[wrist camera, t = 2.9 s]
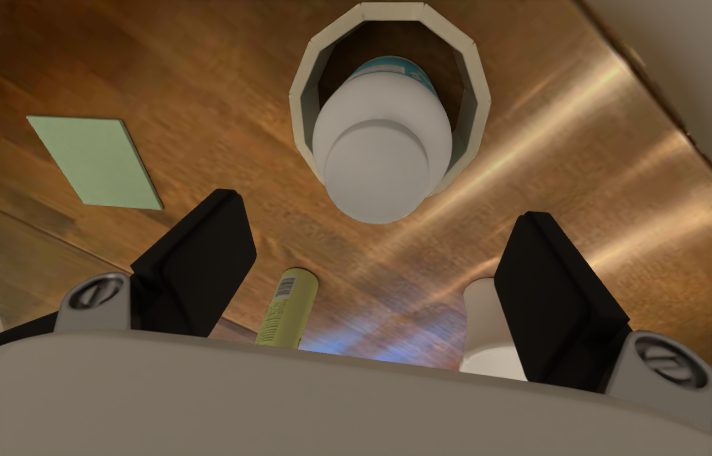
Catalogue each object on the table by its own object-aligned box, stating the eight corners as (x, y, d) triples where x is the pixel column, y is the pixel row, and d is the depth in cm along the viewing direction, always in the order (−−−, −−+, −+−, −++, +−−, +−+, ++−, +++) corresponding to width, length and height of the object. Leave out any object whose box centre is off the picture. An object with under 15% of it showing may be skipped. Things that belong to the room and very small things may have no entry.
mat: (29, 115, 28) (25, 116, 28) (121, 119, 27) (118, 120, 27) (86, 202, 34) (83, 204, 34) (164, 208, 33) (161, 210, 33)
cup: (475, 255, 31) (500, 337, 23) (544, 287, 33) (589, 375, 25) (429, 299, 36) (437, 379, 28) (490, 325, 38) (513, 408, 30)
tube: (321, 297, 39) (267, 485, 23) (285, 294, 39) (209, 475, 24) (317, 267, 35) (251, 464, 20) (278, 264, 36) (184, 452, 20)
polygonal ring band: (301, 5, 20) (276, 2, 16) (493, 5, 19) (518, 1, 15) (316, 174, 28) (301, 200, 24) (453, 182, 26) (462, 212, 22)
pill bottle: (435, 144, 25) (461, 244, 14) (352, 155, 26) (316, 252, 15) (433, 43, 20) (468, 72, 10) (334, 62, 22) (267, 107, 11)
